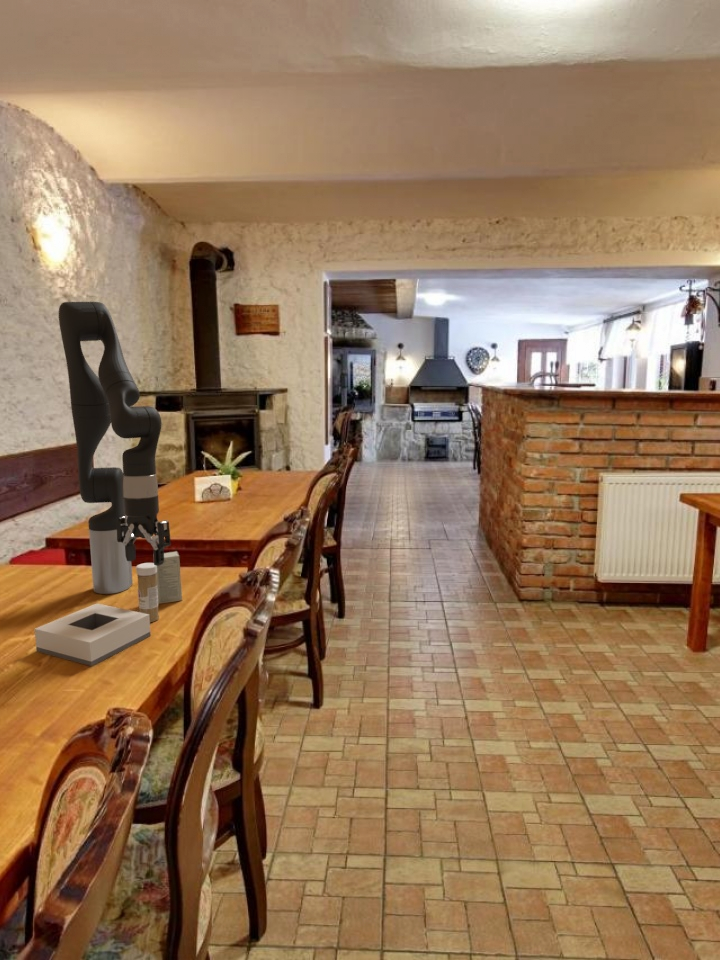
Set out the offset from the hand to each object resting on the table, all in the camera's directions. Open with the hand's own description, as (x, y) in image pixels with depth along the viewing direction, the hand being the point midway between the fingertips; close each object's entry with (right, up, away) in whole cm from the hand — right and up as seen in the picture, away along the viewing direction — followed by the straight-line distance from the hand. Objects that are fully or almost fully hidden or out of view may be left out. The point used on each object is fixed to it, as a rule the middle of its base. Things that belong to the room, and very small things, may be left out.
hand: (144, 562), depth 141 cm
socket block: (-7, -16, -10) cm, 20 cm away
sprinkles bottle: (0, -14, +3) cm, 14 cm away
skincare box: (+1, -12, +16) cm, 20 cm away
